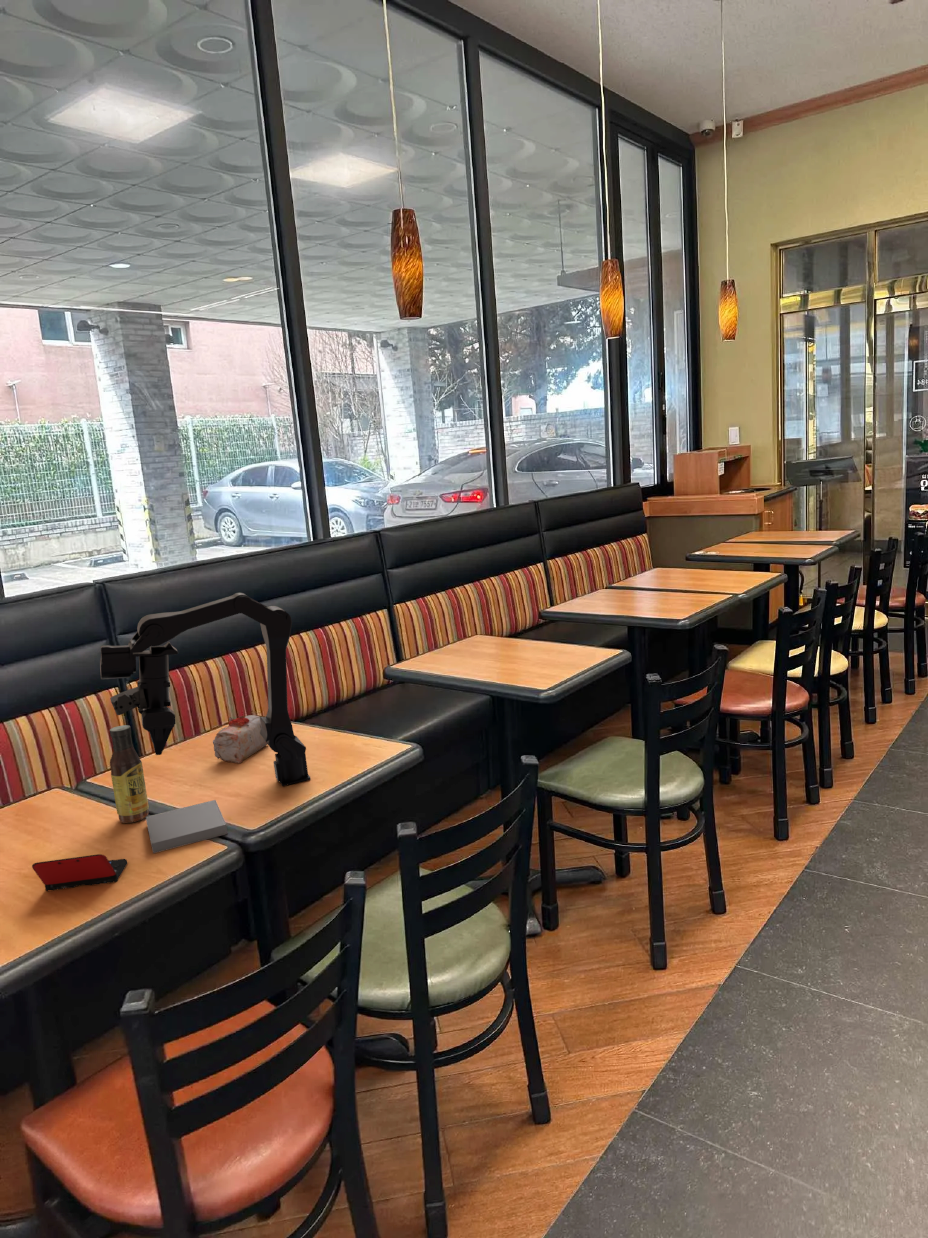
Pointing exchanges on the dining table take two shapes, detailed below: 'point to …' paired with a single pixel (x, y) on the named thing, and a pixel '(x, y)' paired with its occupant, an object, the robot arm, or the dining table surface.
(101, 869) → the handheld game console
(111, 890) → the dining table surface
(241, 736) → the food item
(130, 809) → the sauce bottle
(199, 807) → the stand
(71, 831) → the dining table surface
